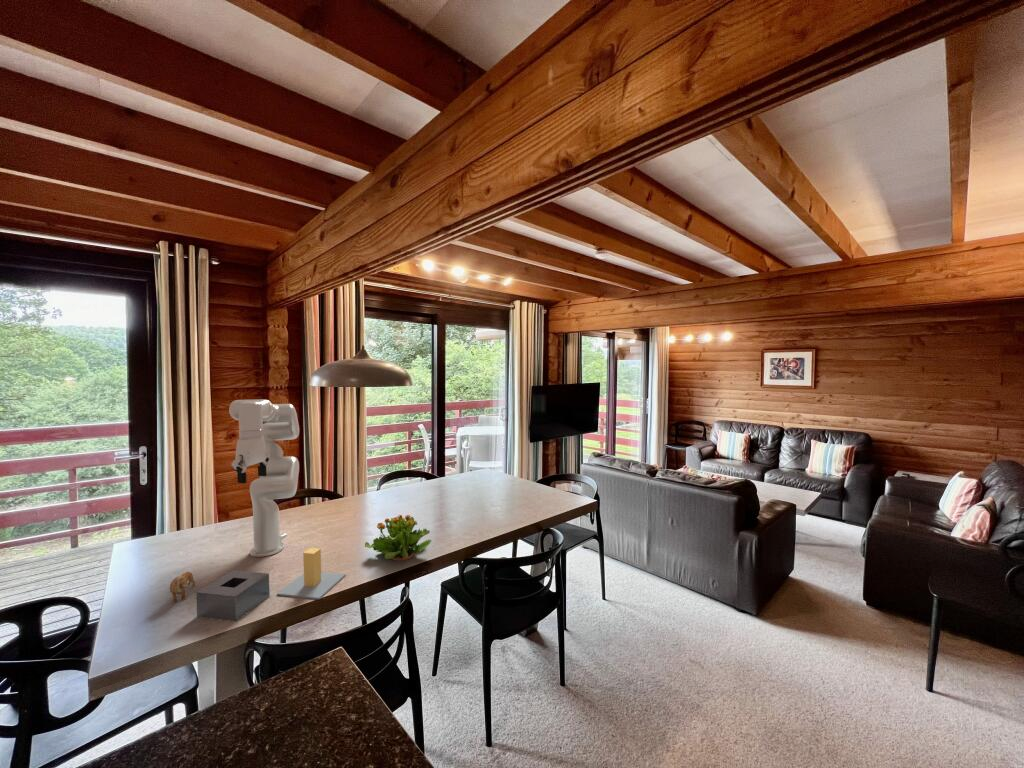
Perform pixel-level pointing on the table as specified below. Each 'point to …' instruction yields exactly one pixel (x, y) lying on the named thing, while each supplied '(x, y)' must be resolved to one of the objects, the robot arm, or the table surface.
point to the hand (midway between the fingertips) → (252, 479)
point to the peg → (312, 567)
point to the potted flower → (399, 539)
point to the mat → (311, 592)
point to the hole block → (232, 595)
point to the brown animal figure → (181, 585)
